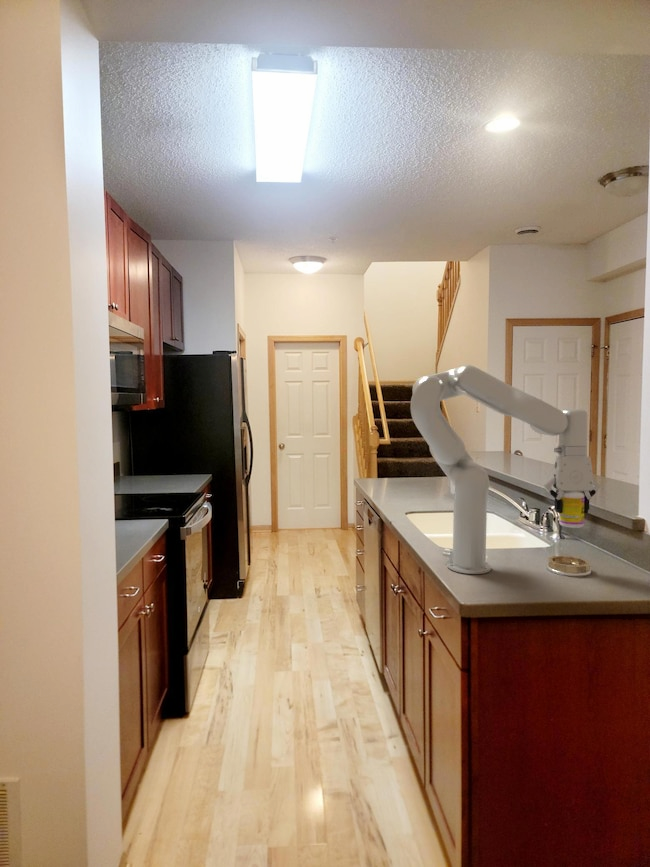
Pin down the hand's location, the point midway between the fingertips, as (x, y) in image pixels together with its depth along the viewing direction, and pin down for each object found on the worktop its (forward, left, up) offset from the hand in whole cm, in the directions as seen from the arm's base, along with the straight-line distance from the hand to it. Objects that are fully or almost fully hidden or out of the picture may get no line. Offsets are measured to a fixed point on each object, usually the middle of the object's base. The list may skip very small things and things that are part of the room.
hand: (571, 511), depth 161 cm
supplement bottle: (0, 0, -4) cm, 4 cm away
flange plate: (0, 0, -17) cm, 17 cm away
